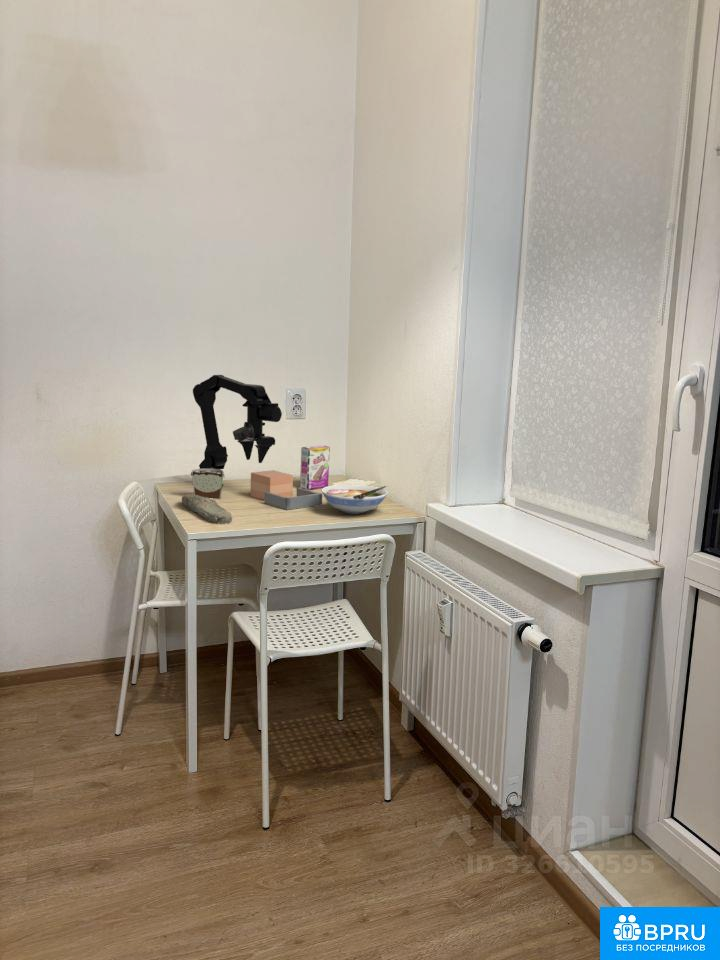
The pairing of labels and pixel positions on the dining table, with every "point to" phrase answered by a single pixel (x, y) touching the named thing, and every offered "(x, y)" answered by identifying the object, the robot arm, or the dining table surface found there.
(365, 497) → the ramen bowl
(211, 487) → the food container
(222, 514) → the elongated rock
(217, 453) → the robot arm
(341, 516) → the dining table surface
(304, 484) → the candy bar box
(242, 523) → the dining table surface
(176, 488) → the dining table surface
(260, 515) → the dining table surface
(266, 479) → the tile stack
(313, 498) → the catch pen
